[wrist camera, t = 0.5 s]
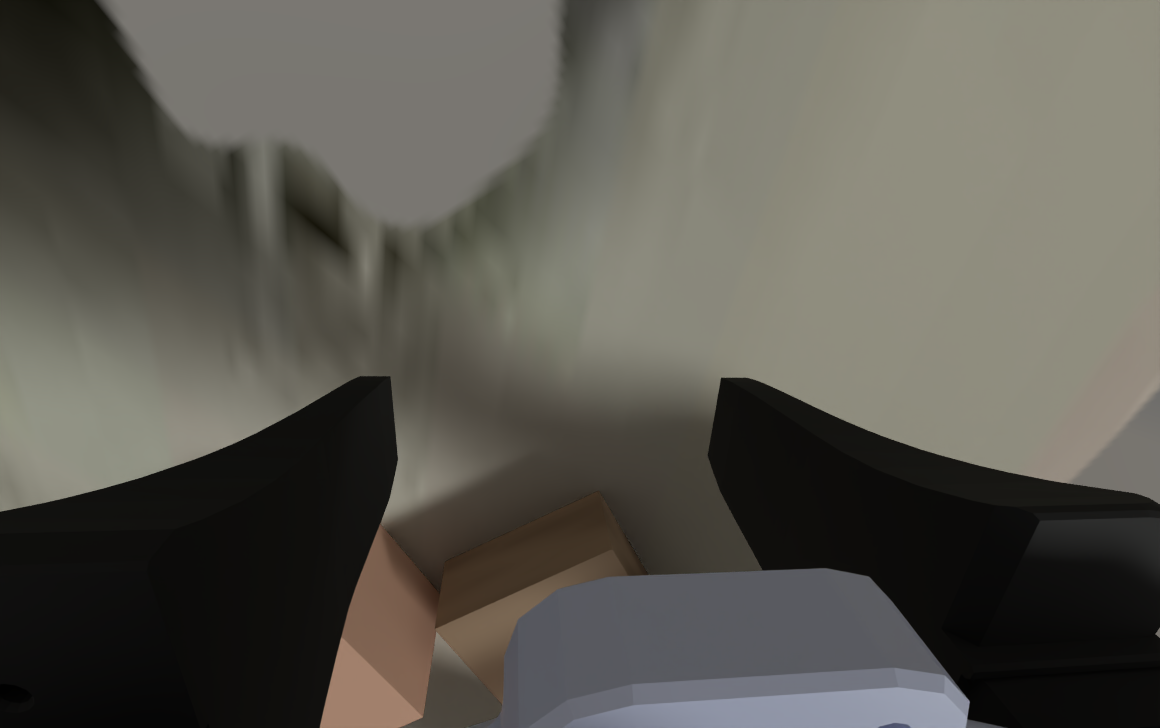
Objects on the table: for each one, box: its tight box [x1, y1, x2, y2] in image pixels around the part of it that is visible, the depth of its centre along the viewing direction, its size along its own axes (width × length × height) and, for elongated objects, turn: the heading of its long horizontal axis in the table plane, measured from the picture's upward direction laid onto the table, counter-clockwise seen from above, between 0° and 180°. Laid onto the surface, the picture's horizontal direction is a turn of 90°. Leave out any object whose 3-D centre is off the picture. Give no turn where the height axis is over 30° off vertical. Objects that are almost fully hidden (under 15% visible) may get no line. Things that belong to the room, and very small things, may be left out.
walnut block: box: [435, 491, 648, 704], centre depth 26 cm, size 8×8×4 cm
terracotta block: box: [320, 524, 440, 728], centre depth 23 cm, size 6×6×6 cm
